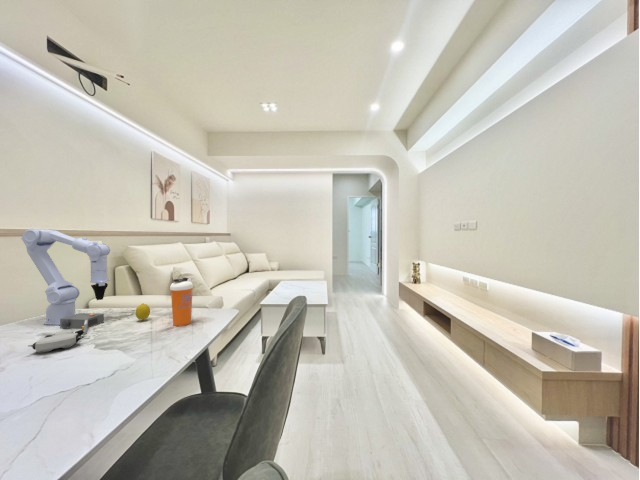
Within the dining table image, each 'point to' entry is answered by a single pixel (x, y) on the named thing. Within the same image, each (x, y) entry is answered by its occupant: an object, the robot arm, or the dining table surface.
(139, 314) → the lemon
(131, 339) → the dining table surface
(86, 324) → the door
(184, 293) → the shaker bottle
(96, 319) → the case
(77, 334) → the robot toy
